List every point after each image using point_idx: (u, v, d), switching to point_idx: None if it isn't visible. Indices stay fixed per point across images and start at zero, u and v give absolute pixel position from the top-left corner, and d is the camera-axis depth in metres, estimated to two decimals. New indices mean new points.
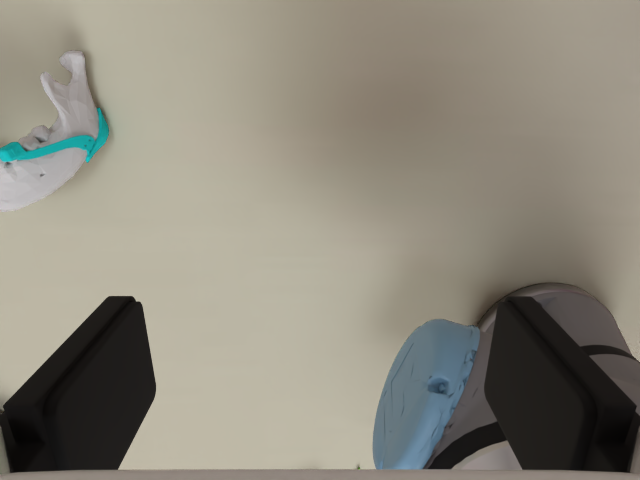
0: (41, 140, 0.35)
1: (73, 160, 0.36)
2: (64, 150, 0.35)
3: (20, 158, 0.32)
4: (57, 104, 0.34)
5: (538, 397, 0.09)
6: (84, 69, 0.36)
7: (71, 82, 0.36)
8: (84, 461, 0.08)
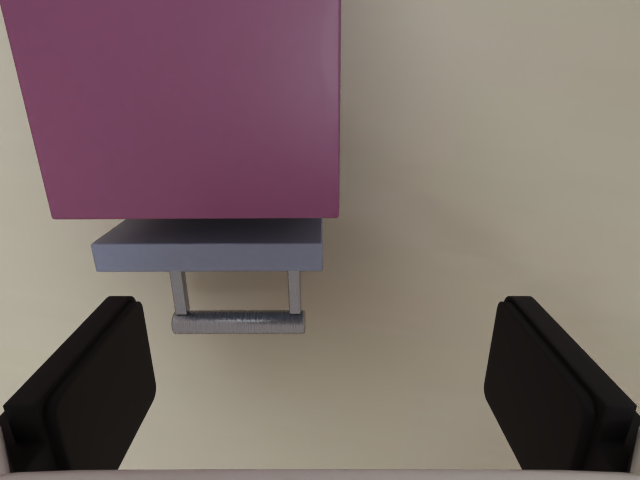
0: None
1: None
2: None
3: None
4: None
5: (538, 397, 0.09)
6: None
7: None
8: (84, 461, 0.08)
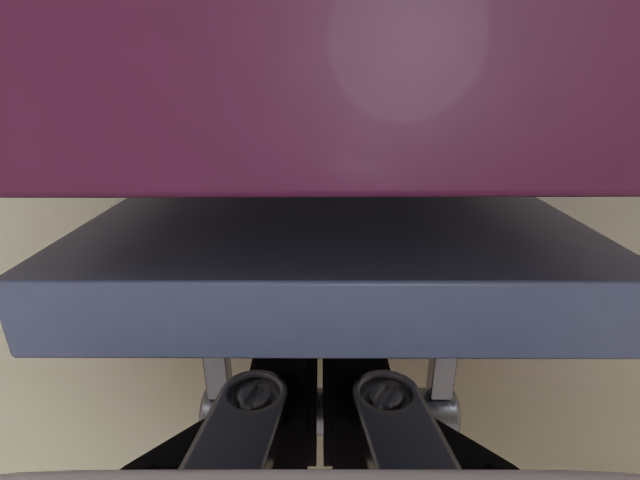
0: None
1: None
2: None
3: None
4: None
5: (323, 359, 0.10)
6: None
7: None
8: None
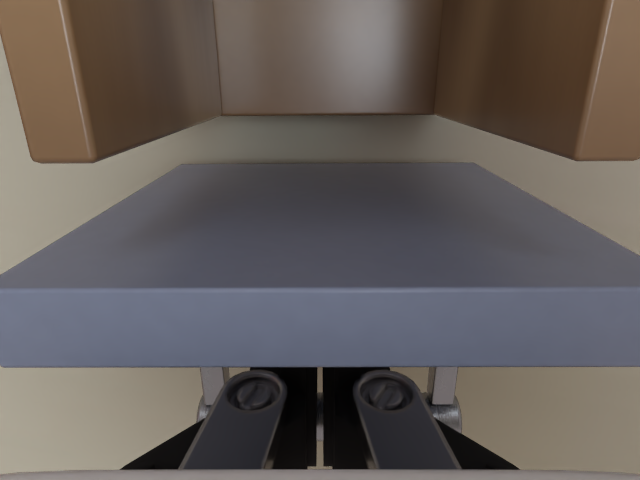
0: None
1: None
2: None
3: None
4: None
5: None
6: None
7: None
8: None
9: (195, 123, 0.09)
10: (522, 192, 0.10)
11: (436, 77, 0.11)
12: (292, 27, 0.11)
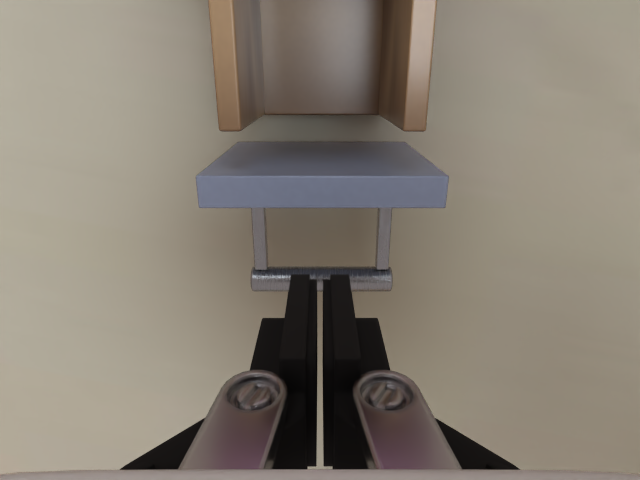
0: None
1: None
2: None
3: None
4: None
5: (323, 359, 0.10)
6: None
7: None
8: None
9: (257, 118, 0.19)
10: (417, 153, 0.19)
11: (379, 95, 0.21)
12: (303, 68, 0.20)
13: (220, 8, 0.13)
